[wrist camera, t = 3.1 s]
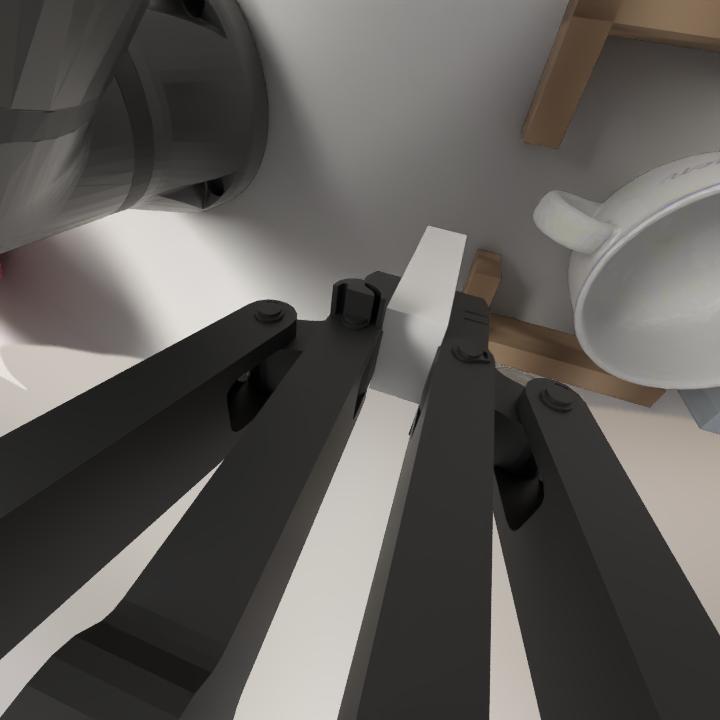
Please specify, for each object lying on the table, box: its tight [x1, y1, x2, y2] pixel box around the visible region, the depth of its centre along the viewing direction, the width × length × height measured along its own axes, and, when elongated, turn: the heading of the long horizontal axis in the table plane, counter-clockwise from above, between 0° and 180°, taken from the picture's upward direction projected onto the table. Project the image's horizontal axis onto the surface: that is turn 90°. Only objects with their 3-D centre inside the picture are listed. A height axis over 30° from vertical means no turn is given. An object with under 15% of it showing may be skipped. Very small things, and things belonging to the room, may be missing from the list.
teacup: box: [533, 151, 720, 390], centre depth 19 cm, size 14×11×8 cm
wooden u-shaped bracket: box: [462, 0, 720, 408], centre depth 20 cm, size 14×19×4 cm
